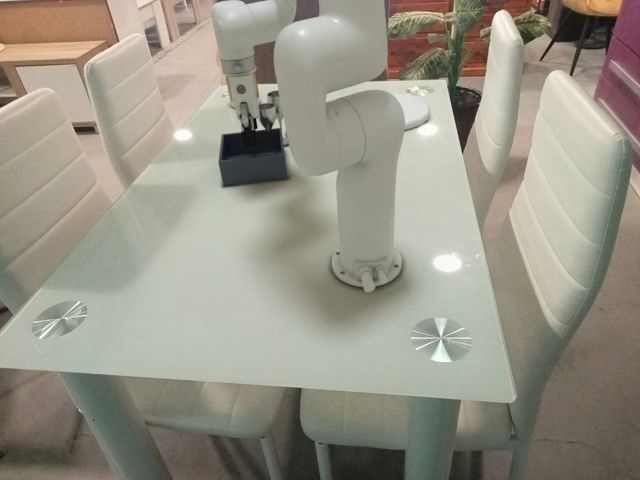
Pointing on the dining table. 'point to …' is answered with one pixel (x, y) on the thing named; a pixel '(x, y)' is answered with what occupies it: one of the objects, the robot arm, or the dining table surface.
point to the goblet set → (271, 115)
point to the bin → (252, 158)
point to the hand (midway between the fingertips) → (251, 137)
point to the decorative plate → (413, 109)
